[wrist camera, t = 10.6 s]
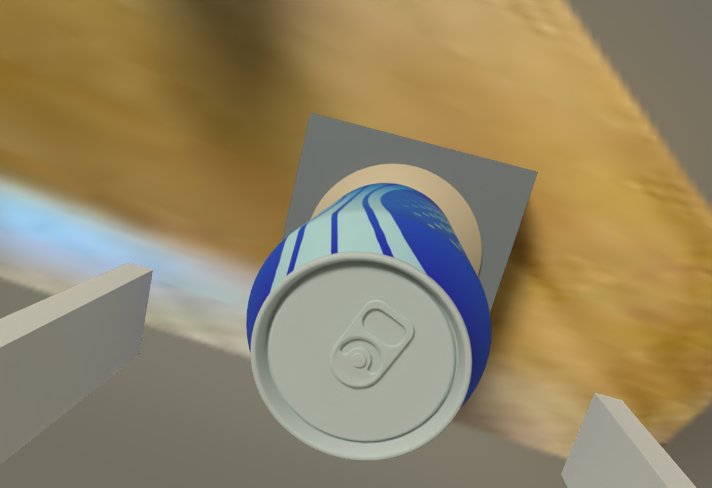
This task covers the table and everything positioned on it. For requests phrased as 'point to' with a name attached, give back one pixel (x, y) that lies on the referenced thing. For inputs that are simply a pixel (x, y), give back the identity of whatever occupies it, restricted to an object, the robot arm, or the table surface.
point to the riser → (416, 186)
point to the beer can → (369, 326)
